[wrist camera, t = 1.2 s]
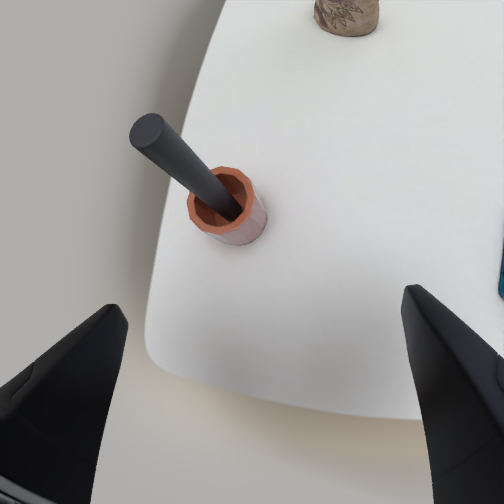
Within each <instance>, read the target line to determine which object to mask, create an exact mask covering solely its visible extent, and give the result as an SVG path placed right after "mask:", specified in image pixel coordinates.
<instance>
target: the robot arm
mask: <svg viewBox="0 0 504 504" xmlns="http://www.w3.org/2000/svg"><path fill="white" fill-rule="evenodd" d="M401 315H402V321H403V326H404V332H405V338H406V344H407V351H408V357H409V362H410V366H411V370H412V374H413V378H414V383H415V387H416V391H417V396H418V400H419V405H420V410H421V415H422V420H423V425H424V430H425V436H426V441H427V448H428V455H429V462H430V469H431V476H432V488H433V499H434V504H504V359H503V358H502V357H501V356H500V355H498V353H497V352H496V351H495V350H494V349H493V348H492V347H491V346H490V345H489V344H487V343H486V342H485V341H484V340H483V339H482V338H481V337H480V336H479V335H478V334H477V333H475V332H474V331H473V330H472V329H471V328H470V327H469V326H468V325H467V324H465V323H464V322H463V321H462V320H461V319H460V318H459V317H457V316H456V315H455V314H454V313H453V312H452V311H450V310H449V309H448V308H447V307H446V306H445V305H443V304H442V303H441V302H440V301H439V300H438V299H436V298H435V297H434V296H433V295H431V294H430V293H429V292H428V291H427V290H425V289H424V288H423V287H422V286H420V285H418V284H415V285H408V286H406V287H405V289H404V294H403V300H402V305H401ZM127 331H128V321H127V319H126V318H125V316H124V314H123V313H122V311H121V309H120V307H119V306H118V305H116V304H107V305H105V306H103V307H102V308H101V309H100V310H98V311H97V312H96V313H94V314H93V315H92V316H90V317H89V318H88V319H87V320H85V321H84V322H83V323H81V324H80V325H79V326H78V327H76V328H75V329H74V330H72V331H71V332H70V333H69V334H67V335H66V336H65V337H63V338H62V339H61V340H60V341H58V342H57V343H56V344H55V345H53V346H52V347H51V348H50V349H49V350H47V351H46V352H45V353H44V354H42V355H41V356H40V357H39V358H37V359H36V360H35V362H33V363H31V364H30V365H29V366H28V367H26V369H24V370H23V371H22V372H20V373H19V374H18V375H16V376H15V377H14V378H13V379H11V380H10V381H9V382H7V383H6V384H5V385H3V386H2V387H0V504H90V501H91V495H92V488H93V483H94V477H95V471H96V465H97V460H98V455H99V450H100V446H101V441H102V437H103V432H104V428H105V423H106V419H107V415H108V411H109V407H110V403H111V399H112V396H113V391H114V388H115V384H116V381H117V377H118V374H119V369H120V366H121V361H122V356H123V351H124V346H125V341H126V336H127Z"/></svg>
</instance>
